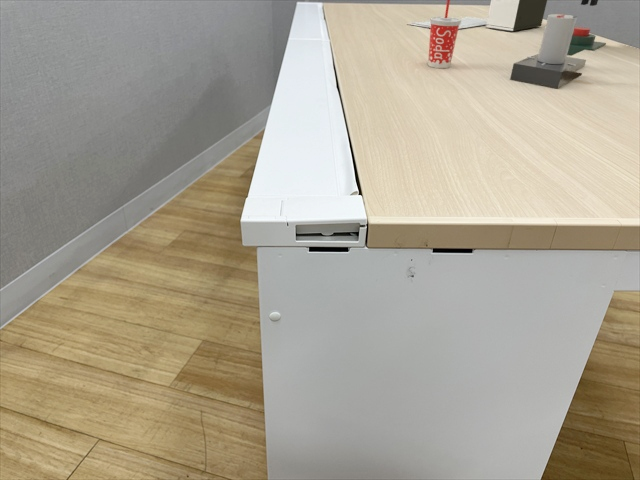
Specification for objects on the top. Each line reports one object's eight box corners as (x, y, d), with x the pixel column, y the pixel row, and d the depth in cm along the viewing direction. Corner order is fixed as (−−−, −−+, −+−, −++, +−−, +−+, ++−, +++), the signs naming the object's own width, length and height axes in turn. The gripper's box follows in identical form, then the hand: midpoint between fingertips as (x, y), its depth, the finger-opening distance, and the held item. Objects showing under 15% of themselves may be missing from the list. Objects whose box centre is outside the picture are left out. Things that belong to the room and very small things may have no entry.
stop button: (589, 36, 115) (592, 28, 115) (585, 38, 113) (587, 30, 112) (574, 34, 117) (576, 26, 117) (569, 36, 115) (571, 28, 114)
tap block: (536, 67, 103) (540, 51, 101) (582, 75, 98) (587, 59, 96) (509, 79, 94) (513, 62, 92) (557, 88, 89) (563, 70, 87)
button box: (603, 52, 118) (608, 34, 116) (590, 58, 111) (596, 40, 109) (560, 46, 123) (565, 29, 121) (546, 52, 117) (551, 34, 115)
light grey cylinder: (542, 57, 97) (554, 11, 93) (568, 61, 94) (581, 14, 90) (533, 61, 94) (544, 14, 90) (559, 65, 91) (572, 17, 87)
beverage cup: (418, 65, 102) (428, -10, 94) (432, 60, 106) (442, -12, 98) (446, 70, 99) (458, -7, 91) (458, 65, 103) (471, -9, 95)
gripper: (583, -124, 101) (551, 2, 113) (661, -127, 93) (618, 9, 105) (594, -121, 105) (562, 0, 118) (669, -123, 98) (627, 6, 110)
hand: (588, 4), depth 112 cm, fingers closed
